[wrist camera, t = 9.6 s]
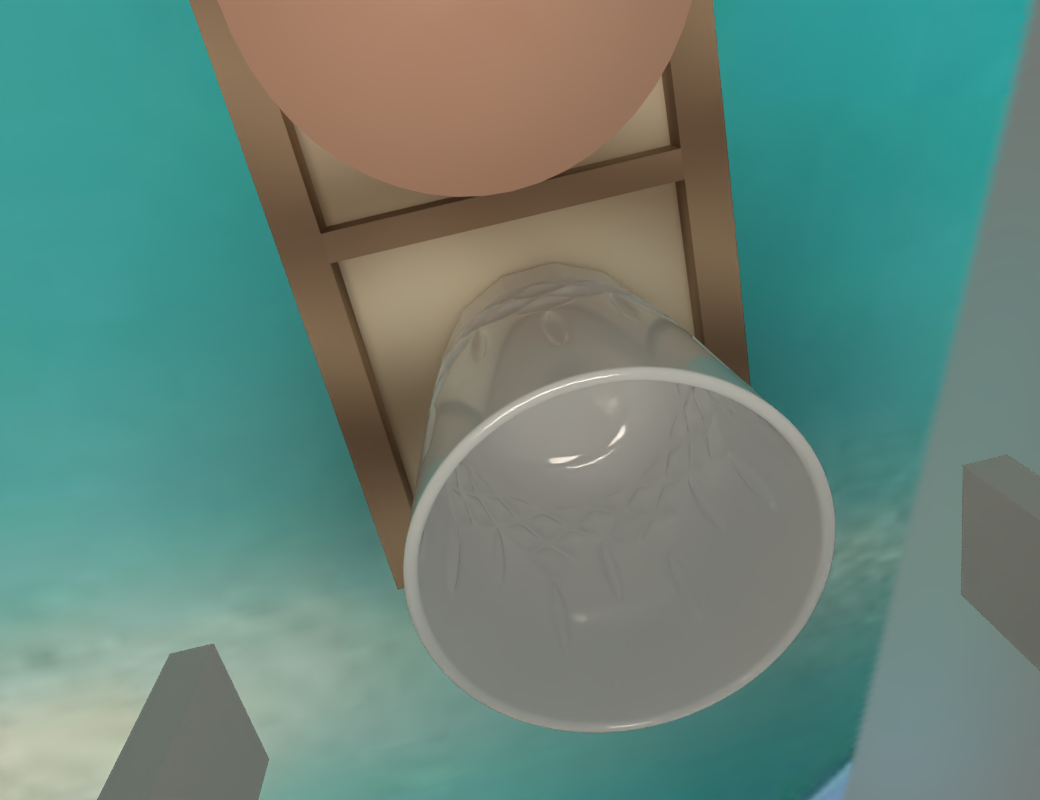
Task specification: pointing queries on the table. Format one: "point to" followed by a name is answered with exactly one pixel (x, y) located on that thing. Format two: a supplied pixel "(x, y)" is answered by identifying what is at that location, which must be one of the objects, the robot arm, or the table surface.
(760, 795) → the table surface
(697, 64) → the wooden divided tray
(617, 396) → the white cup
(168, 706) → the robot arm
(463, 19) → the pink round cylinder
